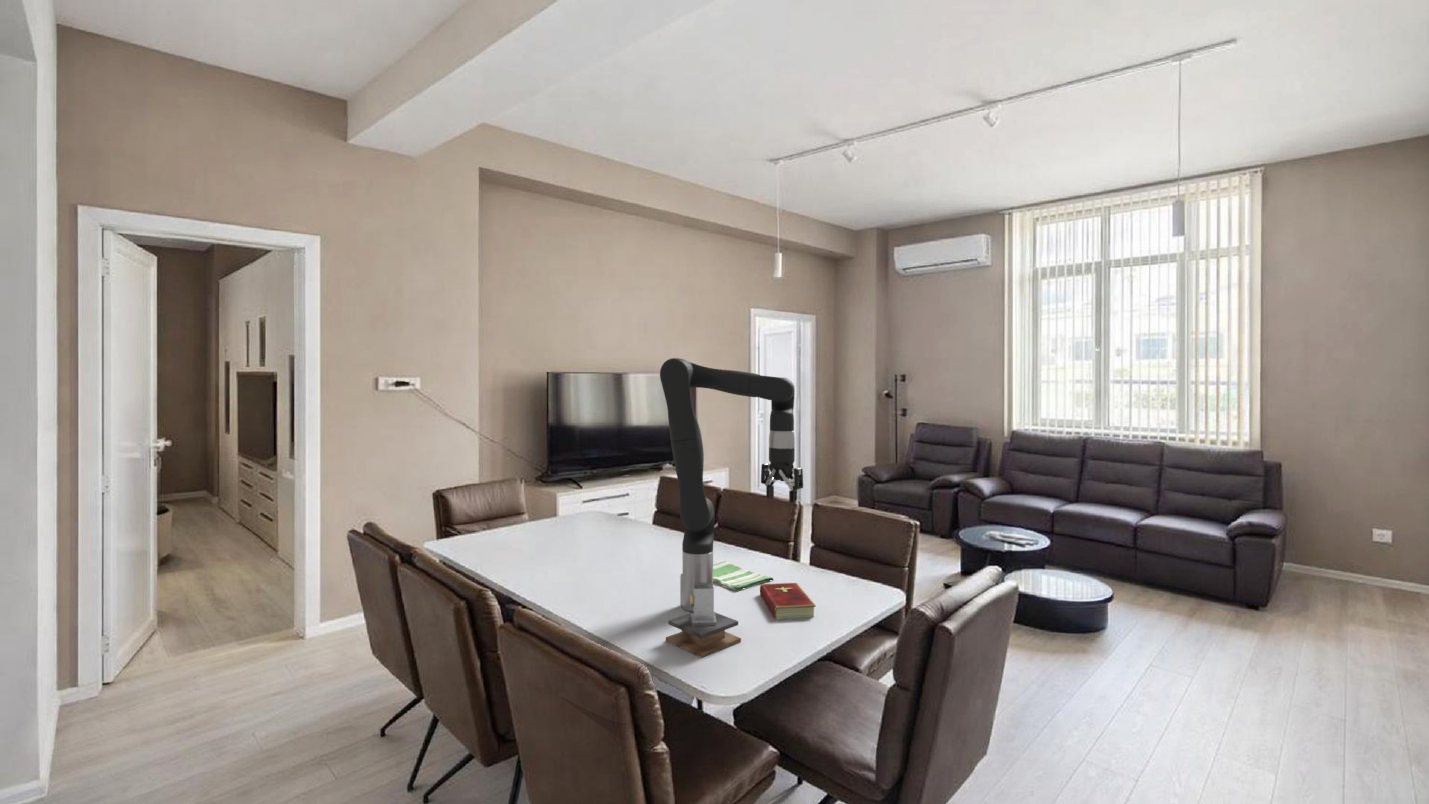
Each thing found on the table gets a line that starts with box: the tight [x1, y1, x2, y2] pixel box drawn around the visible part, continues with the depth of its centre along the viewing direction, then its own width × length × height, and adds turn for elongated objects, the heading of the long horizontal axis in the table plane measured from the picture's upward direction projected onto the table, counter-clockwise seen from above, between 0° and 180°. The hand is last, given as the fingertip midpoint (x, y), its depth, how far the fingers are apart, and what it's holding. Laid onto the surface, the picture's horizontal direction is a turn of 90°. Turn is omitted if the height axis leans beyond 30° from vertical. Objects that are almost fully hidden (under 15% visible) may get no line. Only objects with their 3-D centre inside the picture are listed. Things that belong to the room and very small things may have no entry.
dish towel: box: [713, 560, 774, 592], centre depth 227 cm, size 18×23×3 cm
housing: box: [690, 582, 717, 626], centre depth 173 cm, size 6×7×9 cm
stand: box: [665, 611, 742, 658], centre depth 174 cm, size 14×14×6 cm
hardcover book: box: [759, 582, 816, 620], centre depth 200 cm, size 12×21×4 cm, turn 8°
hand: (781, 501), depth 193 cm, fingers open, 8 cm apart
